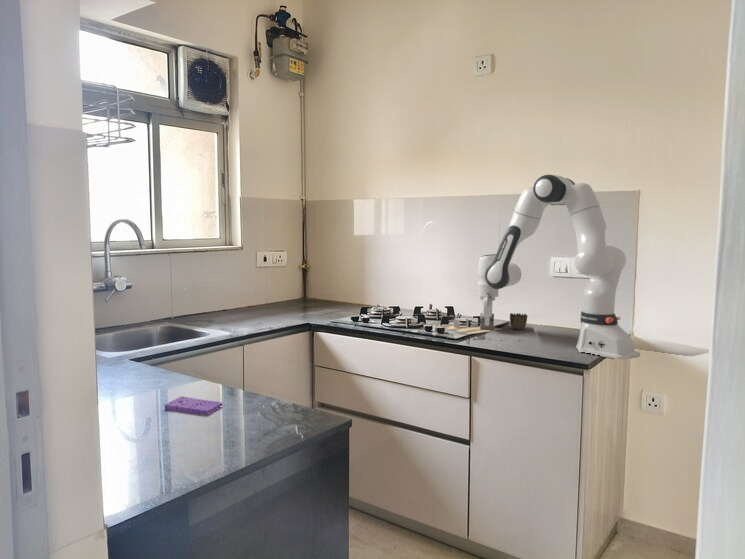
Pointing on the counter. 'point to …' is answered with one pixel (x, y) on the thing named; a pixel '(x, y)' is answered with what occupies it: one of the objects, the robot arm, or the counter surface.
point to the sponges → (192, 405)
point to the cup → (518, 321)
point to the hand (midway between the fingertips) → (486, 323)
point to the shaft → (456, 323)
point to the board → (468, 329)
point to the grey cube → (482, 322)
